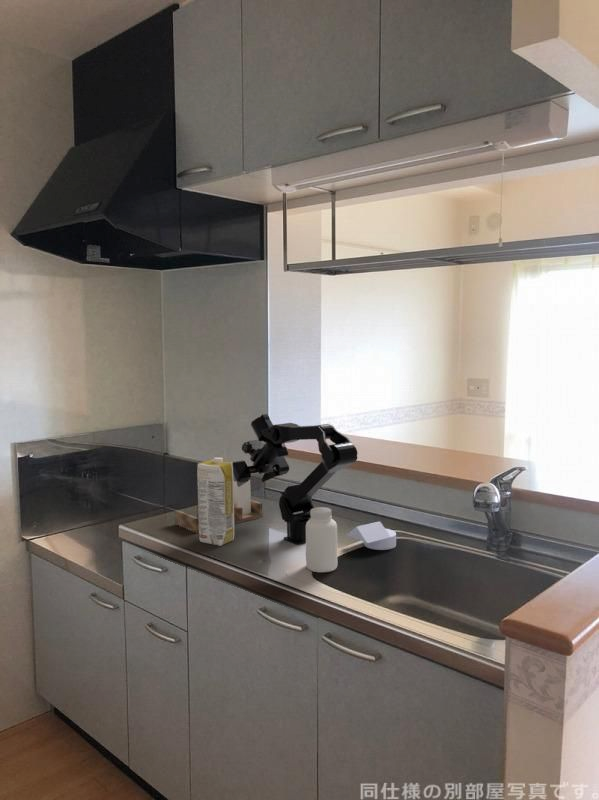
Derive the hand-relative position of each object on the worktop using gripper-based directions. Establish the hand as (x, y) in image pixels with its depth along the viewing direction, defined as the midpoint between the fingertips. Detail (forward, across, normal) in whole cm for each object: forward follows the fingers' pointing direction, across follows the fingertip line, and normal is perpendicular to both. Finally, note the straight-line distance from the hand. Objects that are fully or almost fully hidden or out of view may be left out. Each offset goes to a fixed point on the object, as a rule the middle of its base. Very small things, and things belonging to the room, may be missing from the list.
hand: (250, 483), depth 203 cm
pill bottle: (-23, +8, +41) cm, 48 cm away
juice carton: (+1, +19, +16) cm, 25 cm away
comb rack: (+13, +8, +4) cm, 16 cm away
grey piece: (+12, 0, +3) cm, 13 cm away
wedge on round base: (-21, -13, +38) cm, 46 cm away
